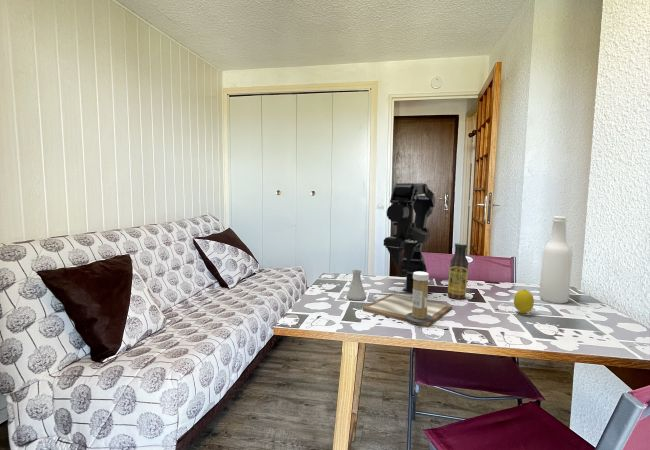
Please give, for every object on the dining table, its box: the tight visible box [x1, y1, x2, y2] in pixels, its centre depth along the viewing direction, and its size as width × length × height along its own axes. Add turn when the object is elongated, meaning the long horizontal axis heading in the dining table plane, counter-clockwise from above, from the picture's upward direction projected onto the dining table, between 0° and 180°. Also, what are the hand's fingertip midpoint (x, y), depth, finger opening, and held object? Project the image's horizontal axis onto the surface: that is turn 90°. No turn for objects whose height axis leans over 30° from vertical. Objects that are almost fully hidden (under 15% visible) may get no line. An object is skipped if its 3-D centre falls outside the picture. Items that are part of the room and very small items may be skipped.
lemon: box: [513, 288, 535, 315], centre depth 113 cm, size 6×6×8 cm
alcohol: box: [539, 215, 573, 305], centre depth 126 cm, size 9×9×30 cm
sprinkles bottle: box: [412, 271, 430, 319], centre depth 106 cm, size 5×5×14 cm
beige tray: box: [362, 293, 453, 328], centre depth 116 cm, size 21×22×1 cm
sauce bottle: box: [447, 242, 469, 300], centre depth 129 cm, size 7×6×20 cm
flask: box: [346, 269, 367, 301], centre depth 128 cm, size 7×7×10 cm
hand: (403, 264), depth 125 cm, fingers open, 9 cm apart
